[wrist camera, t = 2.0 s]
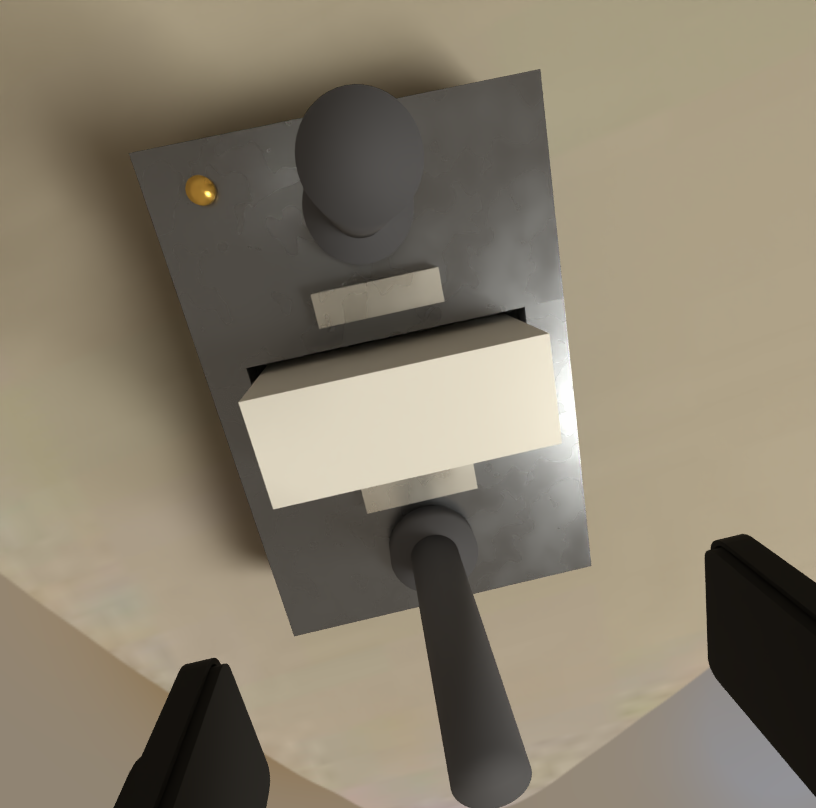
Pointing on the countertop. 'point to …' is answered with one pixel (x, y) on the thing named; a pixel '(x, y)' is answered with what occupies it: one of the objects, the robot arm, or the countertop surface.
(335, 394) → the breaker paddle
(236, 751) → the robot arm
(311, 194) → the dark grey upright post
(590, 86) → the countertop surface
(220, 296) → the gray switch control box
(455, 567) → the black toggle lever
